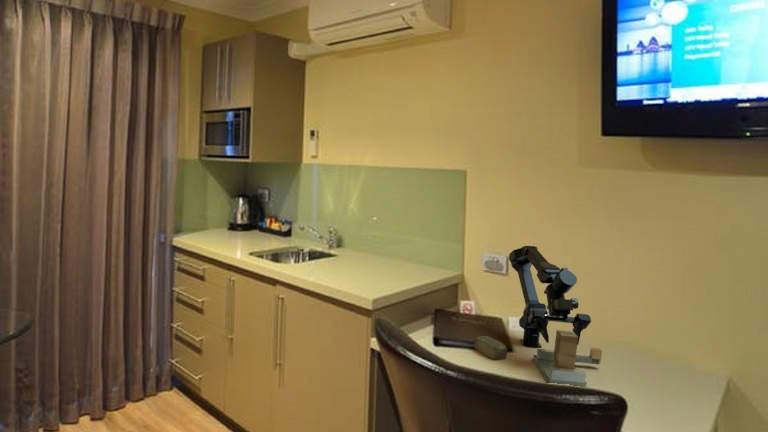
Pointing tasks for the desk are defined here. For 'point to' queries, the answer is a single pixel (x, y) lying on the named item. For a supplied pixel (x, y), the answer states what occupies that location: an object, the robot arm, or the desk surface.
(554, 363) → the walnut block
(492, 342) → the stone block
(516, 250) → the robot arm
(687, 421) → the desk surface
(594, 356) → the light brown wooden block
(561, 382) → the frosted green glass slab
